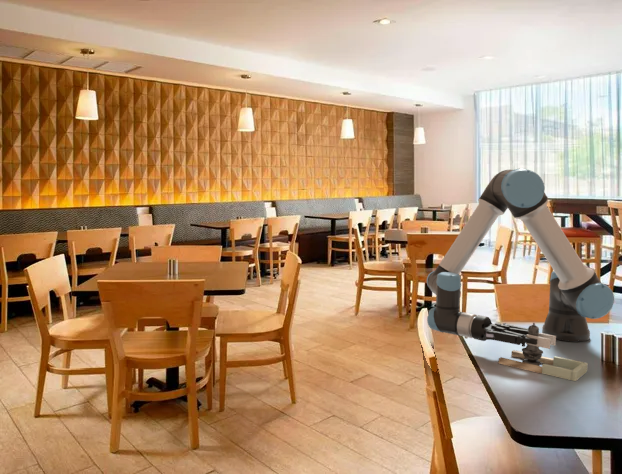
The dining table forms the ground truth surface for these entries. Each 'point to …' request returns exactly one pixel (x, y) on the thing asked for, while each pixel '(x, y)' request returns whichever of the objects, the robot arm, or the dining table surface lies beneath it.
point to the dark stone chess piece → (532, 348)
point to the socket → (573, 374)
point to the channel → (525, 365)
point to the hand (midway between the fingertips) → (552, 342)
